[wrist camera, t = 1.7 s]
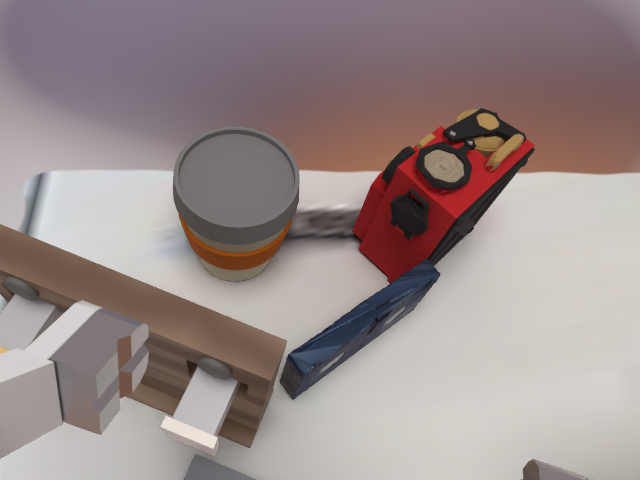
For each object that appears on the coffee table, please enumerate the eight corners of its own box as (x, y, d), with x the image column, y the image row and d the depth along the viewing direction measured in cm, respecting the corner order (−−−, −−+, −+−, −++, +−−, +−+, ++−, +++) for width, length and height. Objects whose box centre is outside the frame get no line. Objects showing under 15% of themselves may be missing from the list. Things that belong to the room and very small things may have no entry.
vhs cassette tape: (400, 294, 63) (427, 256, 55) (416, 313, 62) (446, 278, 54) (275, 378, 56) (284, 350, 48) (291, 401, 55) (303, 377, 47)
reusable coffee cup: (300, 223, 66) (318, 148, 53) (266, 310, 60) (277, 248, 47) (207, 191, 66) (203, 108, 53) (163, 274, 60) (146, 203, 47)
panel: (249, 447, 52) (262, 401, 34) (42, 361, 53) (-53, 272, 35) (272, 391, 55) (294, 322, 37) (76, 310, 56) (4, 204, 38)
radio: (416, 182, 72) (476, 72, 55) (473, 231, 70) (553, 131, 53) (339, 246, 65) (379, 143, 48) (399, 303, 63) (463, 215, 46)
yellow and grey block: (35, 381, 40) (17, 366, 37) (-12, 361, 40) (-34, 345, 37) (89, 299, 44) (77, 279, 40) (46, 282, 44) (31, 260, 41)
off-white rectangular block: (214, 456, 39) (213, 448, 36) (166, 436, 40) (160, 426, 36) (253, 367, 43) (255, 352, 40) (209, 348, 43) (207, 332, 40)
